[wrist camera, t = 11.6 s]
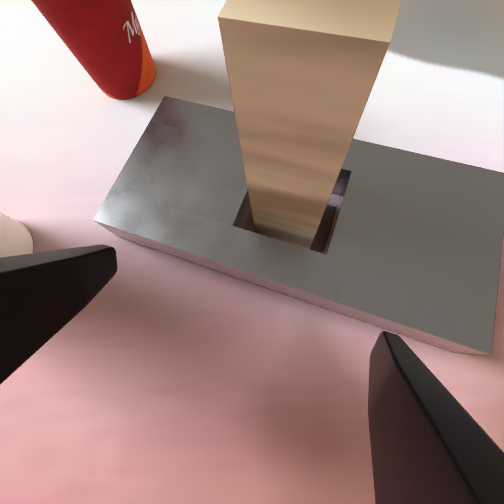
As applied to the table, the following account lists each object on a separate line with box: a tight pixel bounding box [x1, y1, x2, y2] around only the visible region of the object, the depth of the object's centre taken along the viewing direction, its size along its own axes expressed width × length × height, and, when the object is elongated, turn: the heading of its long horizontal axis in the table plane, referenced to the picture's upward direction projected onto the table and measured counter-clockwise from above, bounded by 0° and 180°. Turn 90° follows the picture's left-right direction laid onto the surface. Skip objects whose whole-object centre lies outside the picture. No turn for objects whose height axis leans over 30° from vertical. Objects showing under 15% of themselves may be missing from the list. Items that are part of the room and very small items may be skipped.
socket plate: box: [93, 96, 504, 355], centre depth 18 cm, size 11×24×3 cm, turn 70°
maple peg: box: [218, 0, 401, 250], centre depth 13 cm, size 4×4×14 cm
